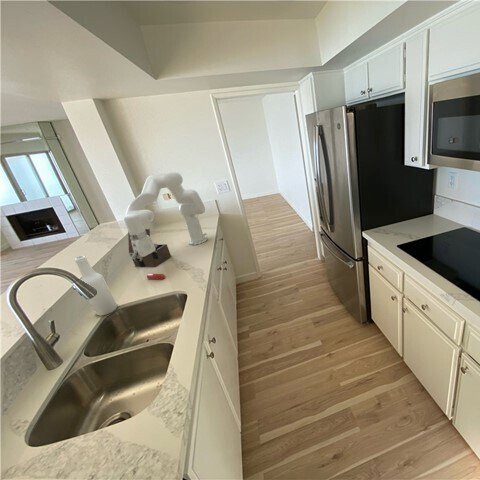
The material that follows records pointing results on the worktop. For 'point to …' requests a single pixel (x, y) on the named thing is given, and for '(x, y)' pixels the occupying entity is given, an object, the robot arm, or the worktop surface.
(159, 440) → the worktop surface
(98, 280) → the alcohol
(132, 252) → the bin lid
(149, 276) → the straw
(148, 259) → the bin
